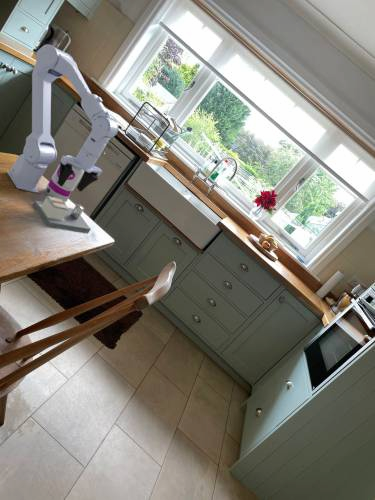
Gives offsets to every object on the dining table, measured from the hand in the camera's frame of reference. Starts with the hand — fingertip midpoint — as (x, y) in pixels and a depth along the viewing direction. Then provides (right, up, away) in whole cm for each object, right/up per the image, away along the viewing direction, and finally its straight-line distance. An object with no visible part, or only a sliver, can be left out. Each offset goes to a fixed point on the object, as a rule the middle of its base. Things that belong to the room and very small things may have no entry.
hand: (69, 187), depth 123 cm
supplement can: (-9, -1, +12) cm, 15 cm away
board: (-3, -10, +2) cm, 11 cm away
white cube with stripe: (-5, -9, -2) cm, 10 cm away
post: (0, -9, +4) cm, 10 cm away
